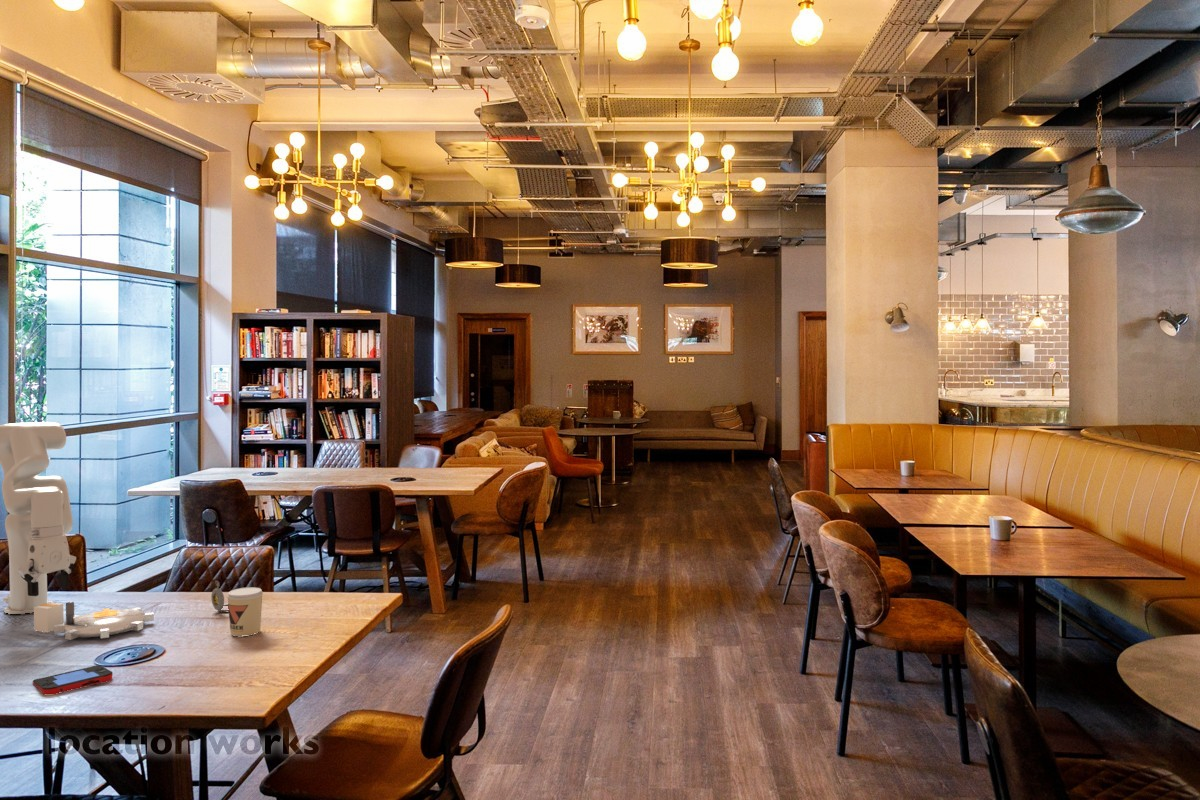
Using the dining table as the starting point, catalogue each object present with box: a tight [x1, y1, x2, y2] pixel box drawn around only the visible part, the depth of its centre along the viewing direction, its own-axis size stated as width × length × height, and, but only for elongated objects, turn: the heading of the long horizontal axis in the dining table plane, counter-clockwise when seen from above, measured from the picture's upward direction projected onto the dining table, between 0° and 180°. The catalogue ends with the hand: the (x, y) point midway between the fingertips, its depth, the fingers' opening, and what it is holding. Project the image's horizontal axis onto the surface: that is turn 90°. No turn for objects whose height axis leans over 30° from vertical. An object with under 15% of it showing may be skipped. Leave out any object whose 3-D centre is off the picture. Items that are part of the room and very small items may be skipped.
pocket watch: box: [210, 580, 229, 612], centre depth 254 cm, size 8×8×10 cm
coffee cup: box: [226, 586, 264, 636], centre depth 232 cm, size 9×9×12 cm
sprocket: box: [53, 601, 155, 641], centre depth 235 cm, size 24×24×8 cm
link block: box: [33, 602, 65, 633], centre depth 235 cm, size 5×5×7 cm
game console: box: [32, 664, 113, 695], centre depth 195 cm, size 14×13×2 cm
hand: (48, 591), depth 234 cm, fingers open, 9 cm apart
